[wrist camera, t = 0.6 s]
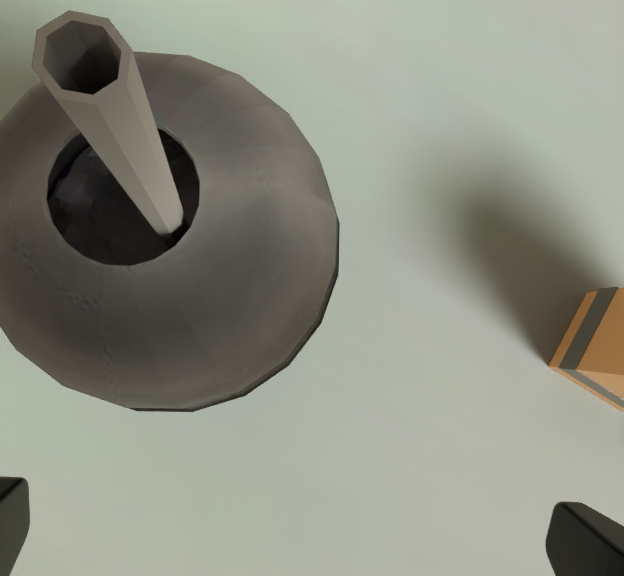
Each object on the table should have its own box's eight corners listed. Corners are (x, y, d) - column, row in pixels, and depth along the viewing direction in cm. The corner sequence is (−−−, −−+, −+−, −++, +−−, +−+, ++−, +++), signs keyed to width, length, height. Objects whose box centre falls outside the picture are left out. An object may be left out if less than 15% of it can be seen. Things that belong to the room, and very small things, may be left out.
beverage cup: (189, 178, 23) (-333, -887, 3) (332, 257, 23) (745, -228, 3) (102, 322, 22) (-1486, 195, 2) (253, 403, 22) (133, 997, 2)
